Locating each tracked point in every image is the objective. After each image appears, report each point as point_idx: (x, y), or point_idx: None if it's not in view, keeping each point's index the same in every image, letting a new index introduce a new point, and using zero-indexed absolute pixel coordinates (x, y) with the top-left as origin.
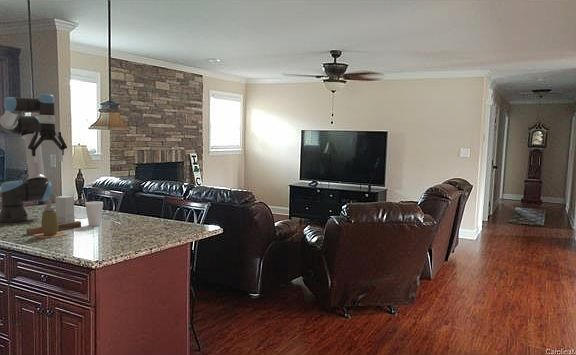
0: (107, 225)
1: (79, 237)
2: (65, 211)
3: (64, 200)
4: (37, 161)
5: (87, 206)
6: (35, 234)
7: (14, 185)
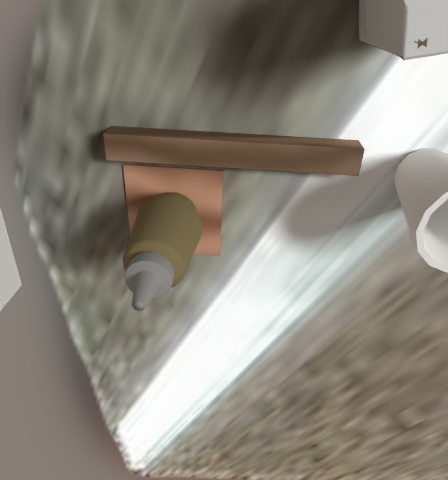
0: None
1: (227, 309)
2: (378, 47)
3: (397, 54)
4: (9, 295)
5: (411, 225)
6: (133, 168)
7: None
